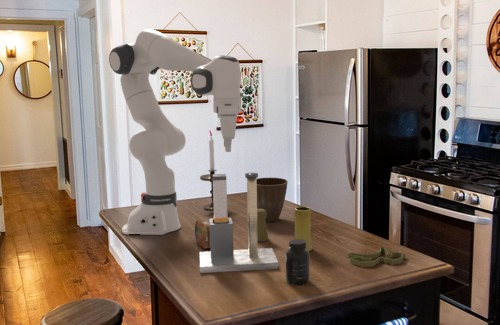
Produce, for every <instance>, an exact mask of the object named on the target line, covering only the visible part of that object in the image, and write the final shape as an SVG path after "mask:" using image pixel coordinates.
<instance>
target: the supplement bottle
mask: <svg viewBox="0 0 500 325" xmlns="http://www.w3.org/2000/svg"><path fill="white" fill-rule="evenodd" d="M310 260H311V259H310V251H307V250H306V241H304V240H301V239H294V238H293V239H290V240H289V241H288V249H287V251H286V252H285V279H286V282H287V283H288V284H290V285H292V284H294V285H293V286H303V284H304V285H306V283H307V284H308V283H309V282H310V279H311V277H310V276H311V275H310V272H311V269H310V268H311V266H310Z"/></svg>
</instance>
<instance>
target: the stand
mask: <svg viewBox="0 0 500 325" xmlns="http://www.w3.org/2000/svg"><path fill="white" fill-rule="evenodd" d="M244 176H245V178H246V193H247V194H246V197H247V200H246V202H247V203H246V204H247V207H246V208H247V241H248V242H247V244H248V246H247V247H248V248H247V249H234V223H233V219H232V217H228V223H218V224H214V218H209V219H208V220H209V221H208V223H209V226H210V248H209V249H210V250H209V251H208V250H207V251H199V271H200V272H199V273H201V274H204V273H205V274H206V273H209V274H210V273H221V272H240V271H241V272H242V271H259V270H262V271H263V270H279V261H278V259H277V256H276V253H275V252H274V249H273V248H272V247H266V248H265V247H264V248H259V247H258V246H259V241H258V231H257V179H258V177H259V173H258V172H246V173H244Z"/></svg>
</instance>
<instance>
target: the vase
mask: <svg viewBox="0 0 500 325" xmlns="http://www.w3.org/2000/svg"><path fill="white" fill-rule="evenodd" d="M311 214H312V213H311V207H309V206H296V207H295V208H294V238H293V240H294V239H301V240H304V241H306V250H307V251H308V252H310V251H312V250H313V247H312V233H311V232H312V231H311V223H312V222H311V221H312V220H311V218H312V217H311V216H312V215H311Z"/></svg>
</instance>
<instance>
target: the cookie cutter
mask: <svg viewBox="0 0 500 325" xmlns="http://www.w3.org/2000/svg"><path fill="white" fill-rule="evenodd" d="M378 250H379V251H378V252H376V253H369V254H367V253H366V254H365V253H356V252H348V254H347V255H348V256H347V258H348V259H349V258H350V259H349V260H350V261H349V263H350V264H351V265H353V264H354V265H353V266H356V265H357V267H360V266H361V267H362V268H370V267H369V266H372V267H375V266H376V264H377V263H378V264H379V263H383V262H384V263H383V264H385V263H390V264H389V265H391V266H393V265H399V264H401V263H403V261H404V259H406V253H404V252H399V251H395V252H394V251H393V252H391V251H388V249H387V248H386V247H385V246H379V248H378ZM382 253H384V254H385V255H386V257H383V256H382ZM380 255H381V256H380ZM379 256H380V257H379ZM377 257H378V258H377ZM373 258H375V259H374V260H373ZM393 258H394V259H393ZM378 264H377V265H378ZM374 265H375V266H374Z"/></svg>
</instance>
